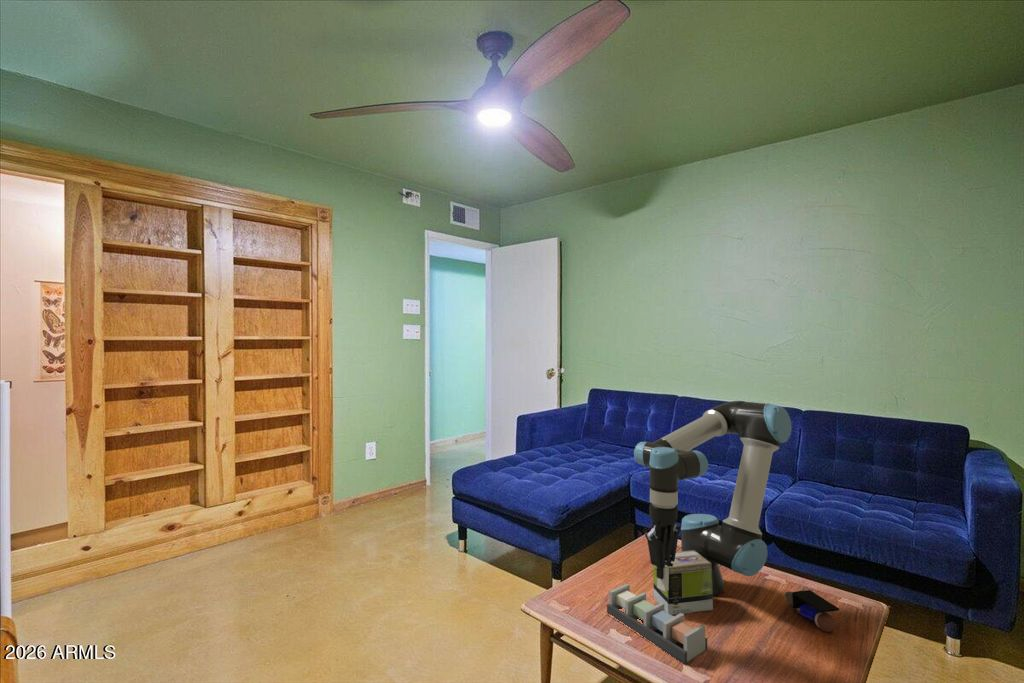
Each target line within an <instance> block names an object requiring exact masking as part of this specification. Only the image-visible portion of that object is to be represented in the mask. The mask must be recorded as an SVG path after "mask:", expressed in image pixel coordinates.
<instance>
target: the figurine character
mask: <svg viewBox="0 0 1024 683" xmlns="http://www.w3.org/2000/svg"><path fill="white" fill-rule="evenodd" d="M784 597H785V600H786V602H787V603H788V604H790V605H792V608H793V611H795V612H796V613H798V615H799V614H800V615H801V616H802V617H805V618H808V619H809V620H811V621H814V623H815V625H816V627H817V628H818V629H820V630H821V631H823V632H825V633H829V632H833V631H834V630H835V628H836V626H837V625H836V620H835V618H834V617H833V616H832V615H831V614H830V613H829V612H838V611H840V608H839V607H837V606H836V605H835V604H833V603H831V602H830V601H828V600H827V599H825V598H823V597H822V596H820V595H818V594H817V593H815V592H814V591H813V590H810V589H809V590H806V589H805V590H798V591H786V592H785V593H784Z"/></svg>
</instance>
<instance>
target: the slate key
mask: <svg viewBox="0 0 1024 683" xmlns="http://www.w3.org/2000/svg"><path fill="white" fill-rule="evenodd" d="M673 617H674V615H670V614H668V613H667V612H665V610H664V611H663V610H661V611H659V612H657V613H655V614H653V615H652V626H654V627H655V628H657V629H659V630H660V631H662V632H663V622H665V621H667V620H669V619H671V618H673Z"/></svg>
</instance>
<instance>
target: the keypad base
mask: <svg viewBox="0 0 1024 683" xmlns="http://www.w3.org/2000/svg"><path fill="white" fill-rule="evenodd" d="M630 587H631V585H630V584H629V583H625V584H623V585H620V586H618V587H615V588H614V589H611V590H609V592H608V598H609V599H608V604H606V614H607V613H608V614H610V615H612V616H614V617H615V618H616V619H618V620H619V621H621V622H623V623H624V624H625V625H627V626H628V627H630V628H631V629H633V630H635V631H636V632H638V633H639V634H640V635H642V636H643V637H645V638H646V639H648V640H649V641H651V642H652V643H654V644H655V645H656V646H658V647H659V648H661V649H662V650H661V649H660V650H661V651H663V652H664V651H665V652H664V653H666V652H667V653H668V654H667V653H666V654H667V655H669V654H670V655H671V656H670V655H669V656H670V657H672V658H673V657H674V659H675V658H676V659H675V660H677V661H678V660H679V662H680V663H681V662H682V663H681V664H683V665H684V664H685V665H687V664H688V663H690V662H691V661H693V660H694V659H696V658H698V657H699V656H701V655H702V654H703V653H705V652H707V651H708V638H707V637H706V625H704V624H703V623H701V624H700V625H698V626H696V627H693V628H694V629H693V630H691V631H689V632H687V633H686V634H684V644H682V643H680V642H679V641H677V640H675V639H674V638H672V626H674V625H676V624H678V623H680V622H681V621H683V622H685V613H680V614H675V616H674V615H673V616H674V617H673V618H671V619H669V620H667V621H665V622H663V632H662V631H660V630H659V629H657V628H655V627H654V626H652V615H653V614H655V613H657V612H659V611H661V610H663V611H665V610H664V603H662V602H661V603H659V604H658V603H657V604H655V605H654V606H653V607H651V608H649V609H647V610H645V611H643V620H641V618H640V619H639V617H637V616H636V615H634V614H633V604H636V603H638V602H640V601H642V600H645V601H647V593H646V592H641V593H639V594H636V596H634V597H632V598H630V599H628V600H626V601H625V613H624V612H622V611H620V610H619V609H622V607H621V606H619V605H617V604H616V595H617V594H619V593H621V592H623V591H626V590H627V591H629V592H631V589H630ZM637 619H639V620H641V621H642V623H643V624H641V623H640V622H638V621H637ZM646 639H645V640H646ZM649 641H648V642H649ZM652 643H651V644H652ZM655 645H654V646H655ZM656 646H655V647H656ZM658 647H657V648H658ZM659 648H658V649H659Z"/></svg>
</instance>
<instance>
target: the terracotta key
mask: <svg viewBox="0 0 1024 683" xmlns="http://www.w3.org/2000/svg"><path fill="white" fill-rule="evenodd" d="M694 628H695V627H694V626H692V625H689V623H686V622H685V621H684V622H683V621H681V622H680V623H678V624H676V625H674V626H672V638H674V639H675V640H677V641H679V642H680V643H682V644H684V634H686V633H687V632H689V631H691V630H693V629H694Z"/></svg>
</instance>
